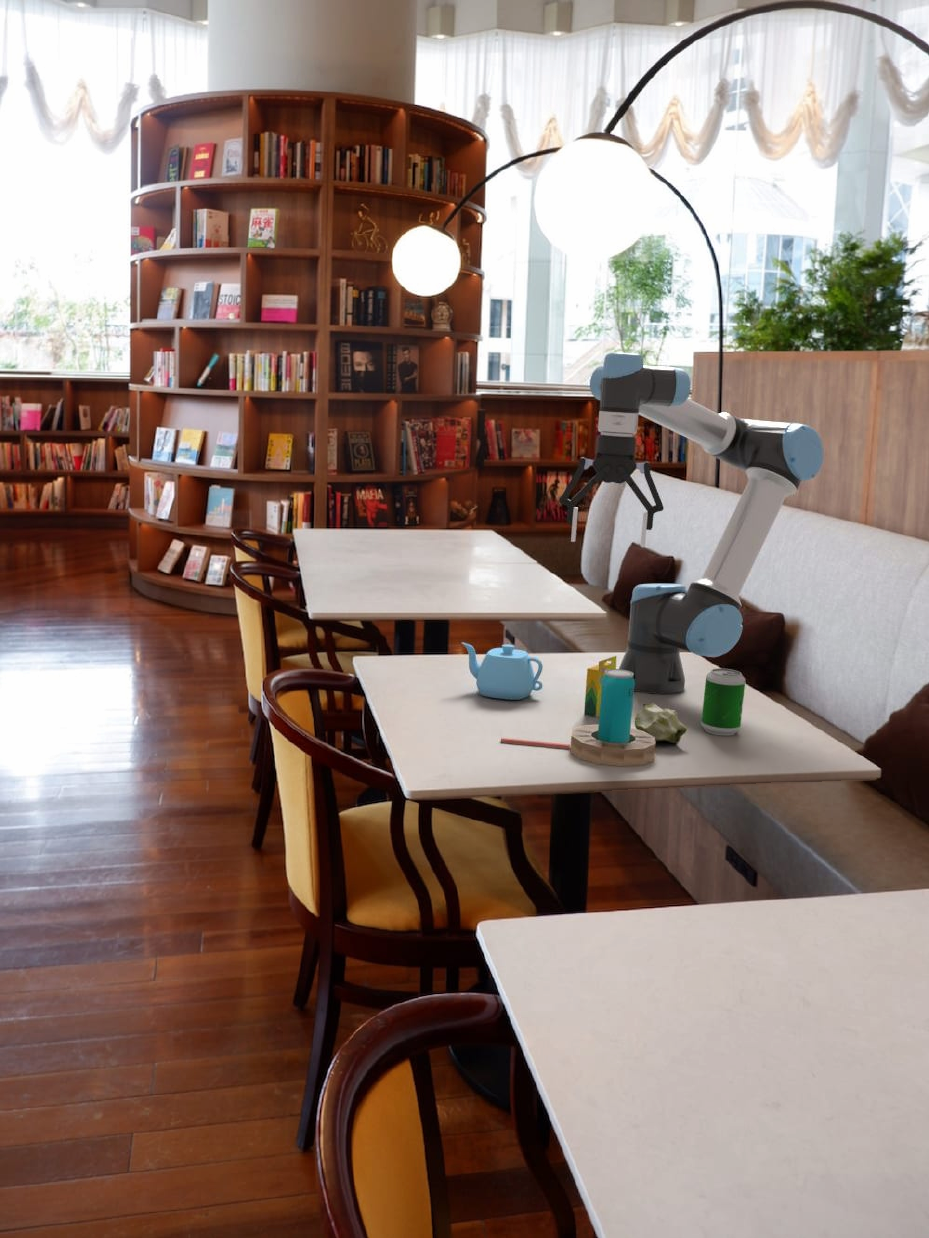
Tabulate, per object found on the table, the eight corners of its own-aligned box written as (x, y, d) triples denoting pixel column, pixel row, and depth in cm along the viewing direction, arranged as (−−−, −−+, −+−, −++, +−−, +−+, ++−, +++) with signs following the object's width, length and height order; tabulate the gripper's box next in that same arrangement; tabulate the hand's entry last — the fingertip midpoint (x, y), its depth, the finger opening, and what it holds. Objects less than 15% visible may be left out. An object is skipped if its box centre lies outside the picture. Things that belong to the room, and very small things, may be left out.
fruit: (627, 741, 229) (633, 699, 229) (675, 747, 229) (681, 706, 229) (637, 746, 220) (643, 703, 220) (686, 753, 220) (692, 710, 220)
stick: (501, 740, 219) (501, 737, 219) (569, 747, 218) (569, 744, 218) (500, 742, 218) (500, 739, 218) (569, 748, 217) (569, 745, 217)
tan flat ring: (572, 736, 225) (573, 721, 224) (652, 744, 223) (654, 728, 222) (568, 760, 210) (570, 744, 209) (654, 769, 208) (656, 752, 208)
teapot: (468, 634, 258) (550, 643, 254) (465, 682, 260) (546, 692, 256) (453, 645, 246) (539, 655, 242) (450, 695, 248) (535, 706, 244)
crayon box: (600, 708, 246) (605, 653, 244) (613, 711, 244) (618, 655, 242) (582, 714, 240) (587, 658, 238) (595, 718, 238) (600, 661, 236)
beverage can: (630, 750, 218) (638, 671, 215) (624, 759, 213) (631, 678, 210) (600, 745, 220) (607, 666, 217) (593, 754, 215) (600, 673, 212)
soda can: (740, 738, 230) (746, 678, 228) (700, 734, 232) (706, 674, 229) (739, 728, 237) (745, 669, 235) (700, 723, 239) (707, 665, 236)
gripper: (551, 431, 228) (543, 541, 232) (683, 439, 225) (672, 551, 229) (553, 429, 235) (545, 536, 239) (681, 438, 232) (671, 546, 237)
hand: (607, 543), depth 234 cm, fingers open, 13 cm apart
